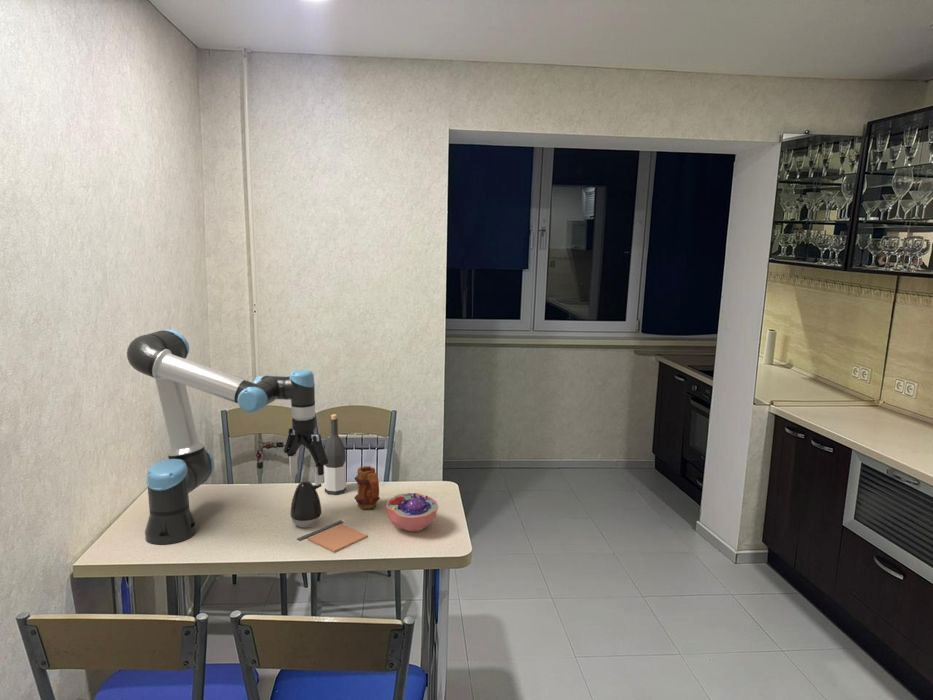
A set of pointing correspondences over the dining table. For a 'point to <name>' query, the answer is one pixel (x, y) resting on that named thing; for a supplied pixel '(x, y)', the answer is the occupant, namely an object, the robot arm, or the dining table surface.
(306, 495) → the pump dispenser
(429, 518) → the cell model
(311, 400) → the robot arm
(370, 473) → the mug
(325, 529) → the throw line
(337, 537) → the mat
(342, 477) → the wine bottle
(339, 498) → the dining table surface
